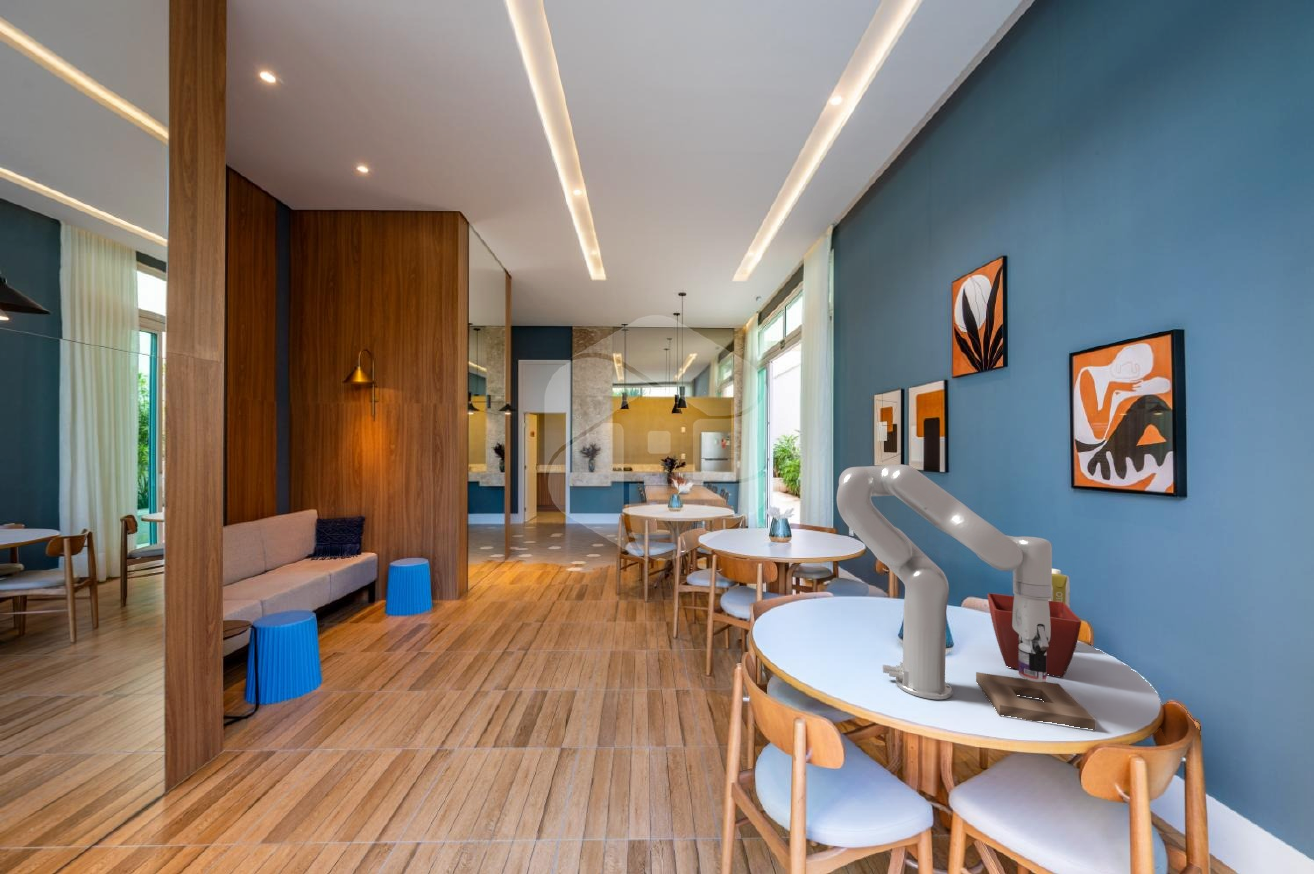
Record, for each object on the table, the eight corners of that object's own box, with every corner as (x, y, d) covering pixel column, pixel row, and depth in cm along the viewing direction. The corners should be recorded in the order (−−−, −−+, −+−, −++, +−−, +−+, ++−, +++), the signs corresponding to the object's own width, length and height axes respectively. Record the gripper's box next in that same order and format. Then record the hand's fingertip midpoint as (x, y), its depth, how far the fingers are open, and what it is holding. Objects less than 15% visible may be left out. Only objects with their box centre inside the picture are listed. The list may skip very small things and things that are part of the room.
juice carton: (1073, 652, 155) (1074, 573, 155) (1044, 650, 156) (1045, 571, 157) (1054, 641, 164) (1055, 566, 165) (1027, 638, 165) (1028, 564, 166)
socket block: (999, 716, 116) (999, 704, 116) (976, 681, 133) (976, 672, 133) (1095, 731, 110) (1095, 719, 110) (1058, 693, 128) (1058, 683, 128)
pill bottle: (1034, 672, 125) (1034, 632, 125) (1052, 682, 119) (1052, 640, 119) (1012, 672, 124) (1012, 632, 125) (1029, 682, 119) (1029, 640, 119)
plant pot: (993, 670, 141) (994, 608, 141) (986, 646, 158) (987, 592, 158) (1081, 686, 132) (1082, 621, 132) (1064, 660, 149) (1064, 602, 149)
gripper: (1001, 579, 132) (1001, 650, 131) (1027, 597, 115) (1027, 678, 115) (1035, 582, 129) (1036, 654, 129) (1067, 601, 113) (1067, 683, 113)
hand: (1032, 664), depth 122 cm, fingers closed on pill bottle, 5 cm apart
